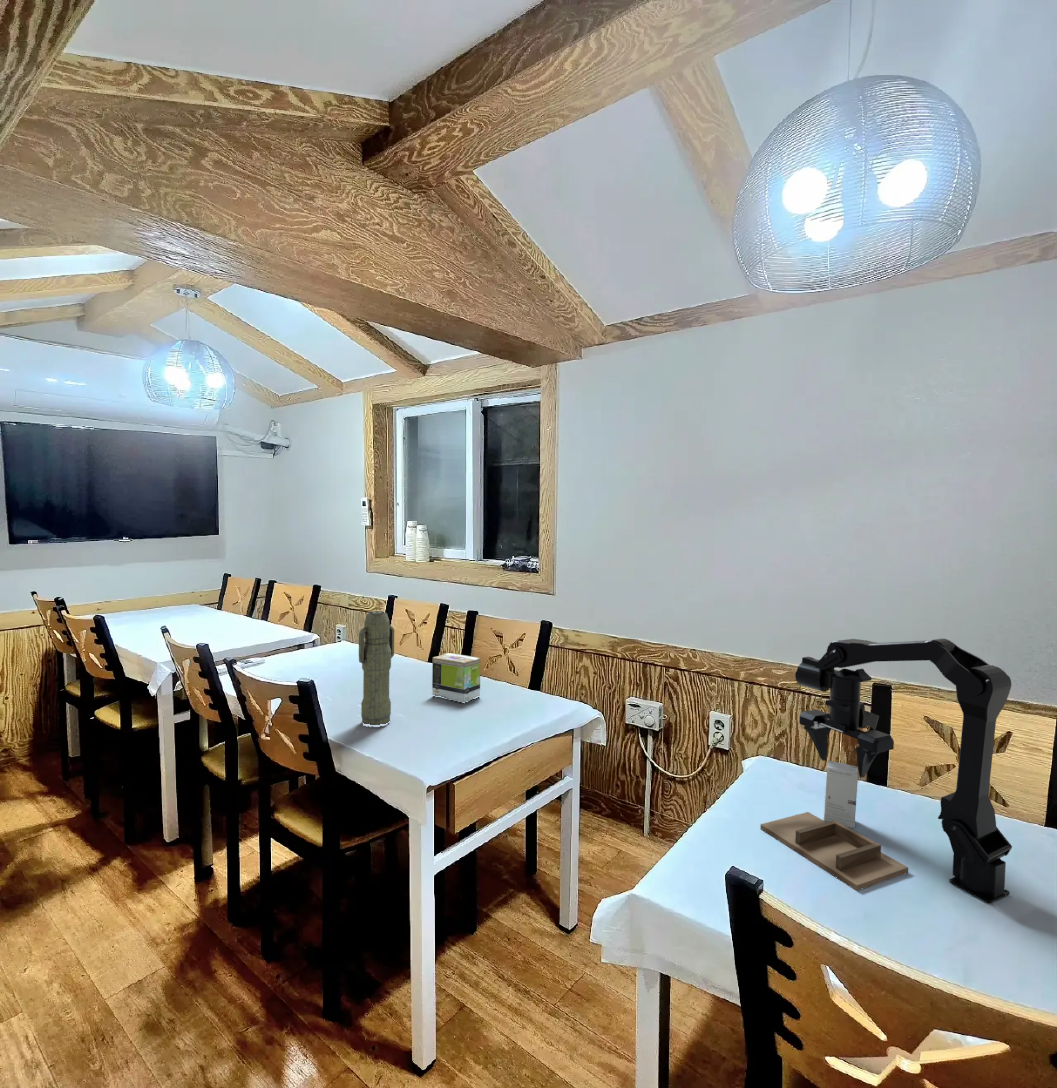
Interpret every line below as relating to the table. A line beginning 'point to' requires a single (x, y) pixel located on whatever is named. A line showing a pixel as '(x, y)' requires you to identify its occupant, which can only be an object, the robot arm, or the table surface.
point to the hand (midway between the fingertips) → (842, 768)
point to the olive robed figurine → (376, 667)
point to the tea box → (456, 677)
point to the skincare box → (841, 793)
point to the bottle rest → (836, 849)
